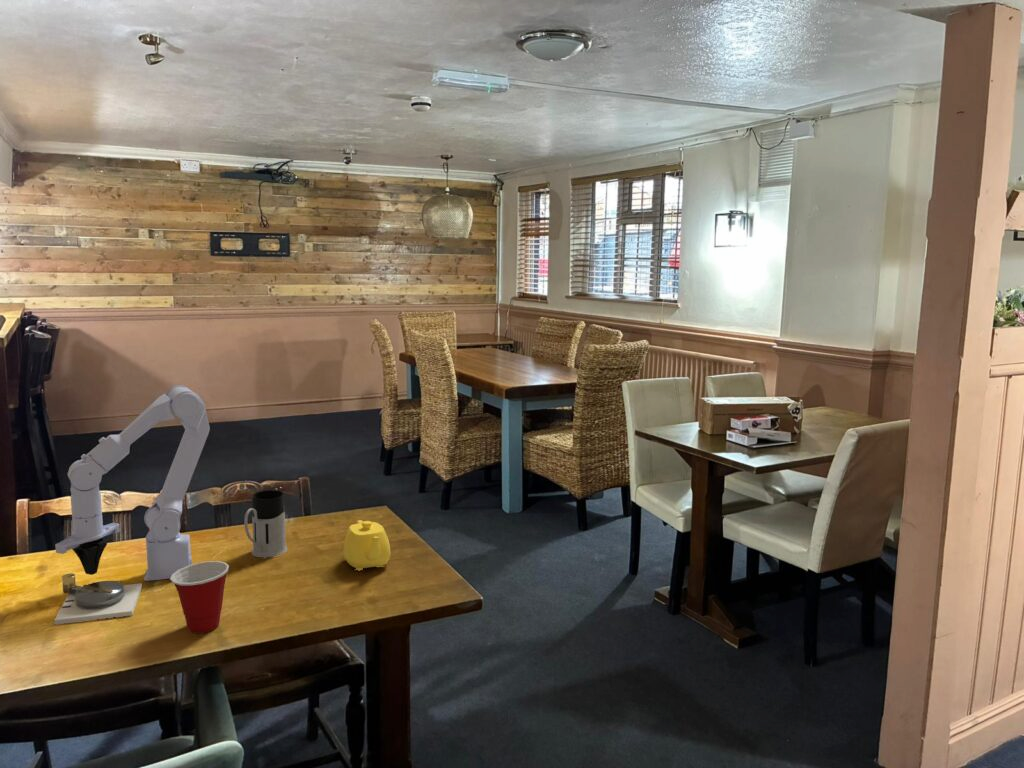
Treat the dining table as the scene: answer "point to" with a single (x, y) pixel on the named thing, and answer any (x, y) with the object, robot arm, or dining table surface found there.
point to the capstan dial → (93, 592)
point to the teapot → (366, 545)
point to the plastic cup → (201, 594)
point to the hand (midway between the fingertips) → (91, 573)
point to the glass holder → (267, 524)
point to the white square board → (99, 608)
